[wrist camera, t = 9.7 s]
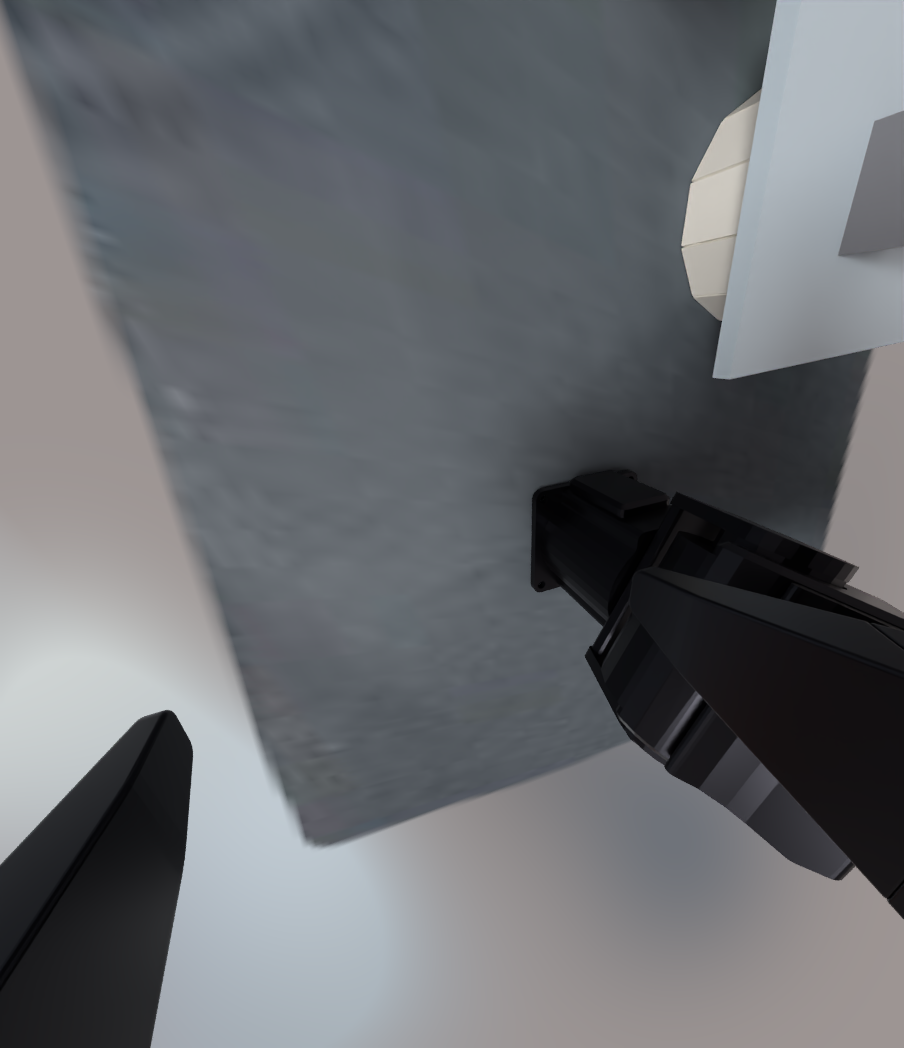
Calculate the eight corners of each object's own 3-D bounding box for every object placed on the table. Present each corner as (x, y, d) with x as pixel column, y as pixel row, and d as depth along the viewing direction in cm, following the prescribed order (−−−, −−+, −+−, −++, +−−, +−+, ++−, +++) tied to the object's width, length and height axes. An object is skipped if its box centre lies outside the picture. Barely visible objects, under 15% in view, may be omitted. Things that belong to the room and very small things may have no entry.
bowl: (796, 312, 23) (885, 309, 19) (669, 325, 20) (744, 324, 17) (856, 94, 19) (982, 40, 15) (706, 78, 16) (815, 10, 13)
